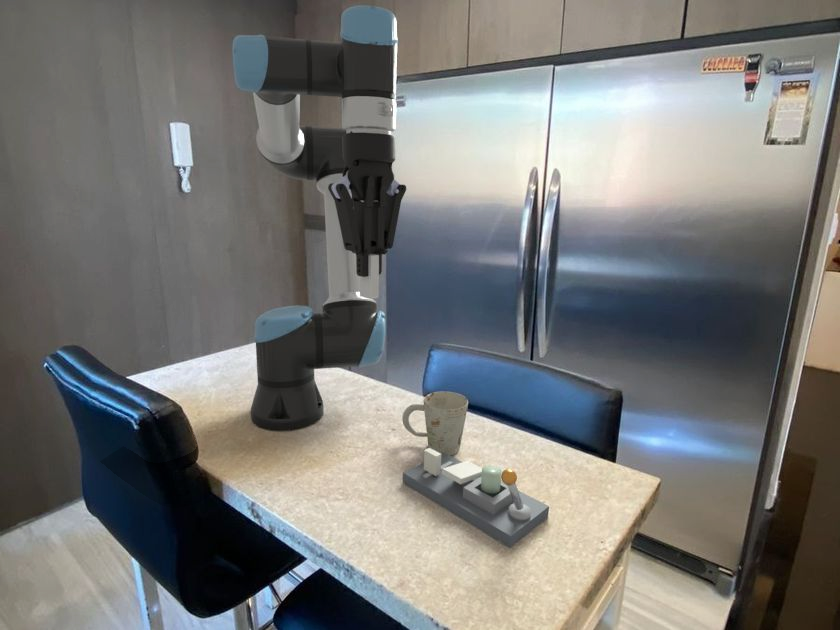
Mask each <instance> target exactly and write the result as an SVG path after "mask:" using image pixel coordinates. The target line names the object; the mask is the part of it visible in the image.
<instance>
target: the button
mask: <svg viewBox="0 0 840 630" xmlns="http://www.w3.org/2000/svg"><path fill="white" fill-rule="evenodd" d="M481 468H482V477H481V489H482V490H483V491H484V492H486V493H490V494H494V493H498V492H499V491H500V487H501V480H502V479H501V474H502V472H503V471H502V469H501V468H500V467H499V466H495V465H485V466H484V467H481Z"/></svg>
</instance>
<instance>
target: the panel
mask: <svg viewBox="0 0 840 630" xmlns="http://www.w3.org/2000/svg"><path fill="white" fill-rule="evenodd" d="M440 454H441V473H440V474H439V475H437V476H435V475H433V474H431V473H429V472H428V471H426V470H424V461H423V462H421V463H419V464H416V465H415V466H413V467H411V468H409V469H407V470H406V471H404V472H402V484H403V485H405V486H407V487H409V488H410V489H412V490H413V491H415V492H416V493H418V494H419V495H421V496H423V497H425V498H426V499H428V500H430V501H432V502H433V503H435V504H436V505H438V506H440V507H441V508H443V509H444V510H446V511H448V512H450V513H452V515H455V516H456V517H458V518H459V519H461V520H462V521H464V522H465V523H468V524H469V525H471V526H472V527H474V528H476V529H477V530H479V531H481V532H482V533H484V534H486V535H487V536H489V537H490V538H492V539H494V540H496V541H497V542H499V543H500V544H502V545H504V546H505V547H507V548H509V549H511V548H512V547H513V546H515V545H516V544H517V543H519V542H520V541H521V540H522V539H524V538H525V537H526V536H527V535H528V534H529V533H531V532H532V531H533V530H535V529H536V528H537V527H538V526H539V525H541V524H542V523H543V522H544V521H546V520H547V519H548V518H549V511H550V506H549V505H548V504H546V503H544V502H542V501H540V500H538V499H536V498H534V497H532V496H530V495H528V494H526V493H525V492H522V491H520V490H519V488H518V487H517V489H518V492H519V495H520V498H521V500H522V503H523V508H522V509H521V510H517V509H516V508H515V505H514V502H513V500H512V497H511V494H510V491H509V488H508V486H507V485H506V484H504V483H503V481H502V479H501V487H500V491H499V492H498V493H494V494H490V493H486V492H484V491H483V490H482V489H481V477H482V476H481V477H479V478H477V479H474V480H471V481H468V482H465V483H463V484H459V483H457V482H455V481H454V480H452V479H450V478H448V477H446V476H445V475H443V474H442V469H443V468H446V467H449V466H452V465H456V464H459V463H462V462H463V461H461V460H459V459H457V458H456V457H453V455H448V454H446V453H444V452H442V453H440Z"/></svg>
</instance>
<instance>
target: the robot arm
mask: <svg viewBox="0 0 840 630" xmlns="http://www.w3.org/2000/svg"><path fill="white" fill-rule="evenodd" d="M340 18H341V19H340V22H341V23H340V32H339V36H340V42H339V41H338V42H337V41H326V40H325V41H324V40H312V39H302V38H301V39H299V38H288V37H279V36H278V37H277V36H269V35H267V36H266V35H264V34H257V35H255V34H254V35H253V34H250V35H249V34H246V35H245V34H241V35H239V34H238V35H236V36H235V37H234V39H233V41H232V65H233V73H234V74H233V76H234V81H235V85H236V87H237V88H238V89H239V90H242V91H244V92H251V93H252V95H253V101H254V106H255V112H256V116H257V123H258V129H257V130H256V131H257V132H256V135H255V136H256V137H255V138H256V140H255V142H256V147H257V149H258V152H259V154H260V156H261V157H262V159H263V160H264V162H266V164H267V165H269V166H270V167H272V169H274V170H275V171H277V172H279V173H280V174H282V175H284V176H286V177H288V178H290V179H291V178H292V179H295V180H300V181H316V189H317V190H318V191H319V193H321V194H322V195H323V202H324V219H325V221H324V222H325V223H324V224H325V238H326V239H325V241H326V244H325V245H326V260H327V278H328V280H327V282H328V298H327V299H326V300H325V302H324V303H323V304H322V312H321V313H314V310H313V309H312V307H311V306H308V305H297V304H296V305H288V306H282V307H278V308H277V307H276V308H274V309H270V310H267V311H265V312H264V313H262V314H260V315H259V316H258V317H257V318H256V321H255V323H254V338H253V340H254V342H255V353H256V372H257V373H256V374H257V386H256V389H255V393H254V396H253V400H252V402H251V403H252V404H251V407H250V419H251V422H252V423H253V425H255V427H258V428H260V429H263V430H268V431H271V432H272V431H275V432H287V431H295V430H301V429H305V428H308V427H310V426H313V425H314V424H316V423H318V422H319V421H320V420H321V419H322V418H323V416H324V413H325V412H324V407H325V406H324V401H323V398H322V396H321V393H320V391H319V387H318V385H317V383H316V379H315V370H319V369H322V370H323V369H337V368H338V369H339V368H354V367H356V368H361V367H364V366H365V367H366V366H374V365H376V364H378V363H379V362H380V360H381V358H382V355H383V353H384V345H385V340H386V313H385V312H384V311H382V310H378V309H377V308H378V307H377V301H376V300H374V299H378V298H379V297H380V295H379V294H380V289H379V288H380V280H379V279H380V278H379V277H380V276H379V275H382V271H383V269H382V268H383V265H382V264H383V255H387V253H388V249H389V250H390V249H392V248H393V246H394V242H395V235H396V231H397V227H398V219H399V214H400V208H401V204H402V203H401V202H402V199H403V198H404V196H405V193H406V192H407V186H406V185H405V184H401V183H399V182H398V181H397V180H396V179H395V172H394V169H393V164H394V163H395V161H396V157H397V156H396V155H397V153H396V152H397V149H396V148H397V146H396V145H397V143H396V142H397V141H396V137H395V135H393V134H392V132H394V131H396V130H397V129H396V127H397V124H396V123H397V62H398V61H397V59H398V57H397V55H398V43H399V38H398V32H397V31H398V29H397V17H396V15H395V14H394V13H393V12H392V11H391V10H389V9H386V8H384V7H381V6H375V5H363V4H362V5H355V6H351V7H350V6H349V7H348V8H346V9H345V10H344V11H343V12H342V13H341V17H340ZM301 95H302V96H303V95H304V96H317V97H318V96H322V97H334V98H335V97H336V98H337V97H339V98H341V127H330V126H329V127H328V126H312V125H311V126H308V125H300V122H301V121H300V116H301V114H300V113H301V111H300V109H301V106H300V105H301Z"/></svg>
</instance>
